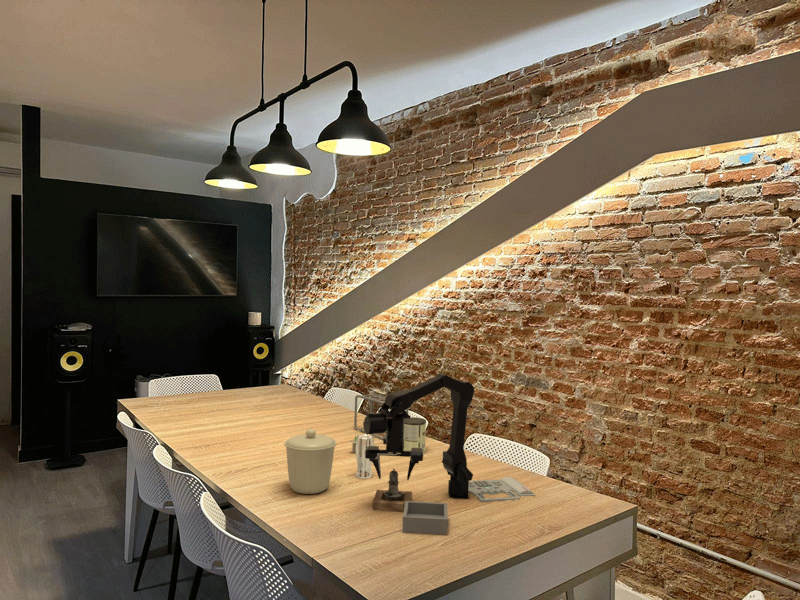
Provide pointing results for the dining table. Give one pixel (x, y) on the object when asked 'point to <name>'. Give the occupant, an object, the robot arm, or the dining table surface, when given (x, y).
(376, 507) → the socket block
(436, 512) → the bin
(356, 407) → the newton's cradle
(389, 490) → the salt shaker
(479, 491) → the grey cutout plate
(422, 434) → the coffee can
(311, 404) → the dining table surface
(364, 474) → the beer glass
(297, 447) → the canister
